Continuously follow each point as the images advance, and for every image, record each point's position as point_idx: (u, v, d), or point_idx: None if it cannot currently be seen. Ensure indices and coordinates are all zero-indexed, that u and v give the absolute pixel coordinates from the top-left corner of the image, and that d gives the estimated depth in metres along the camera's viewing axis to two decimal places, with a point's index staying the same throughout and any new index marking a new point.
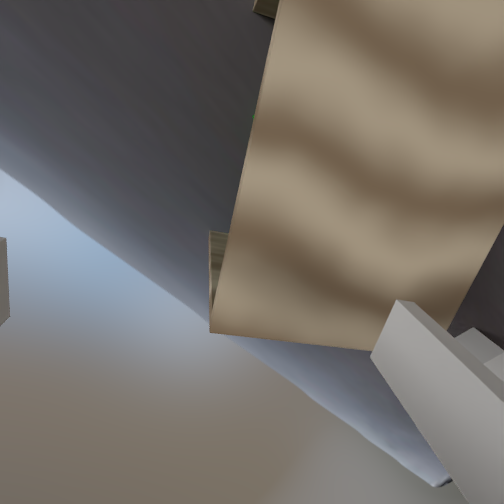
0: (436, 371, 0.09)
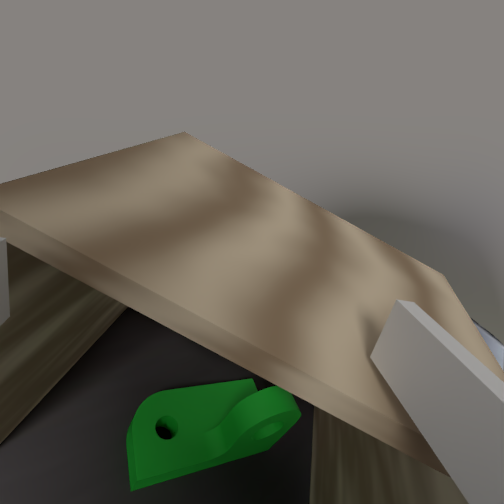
0: (436, 371, 0.09)
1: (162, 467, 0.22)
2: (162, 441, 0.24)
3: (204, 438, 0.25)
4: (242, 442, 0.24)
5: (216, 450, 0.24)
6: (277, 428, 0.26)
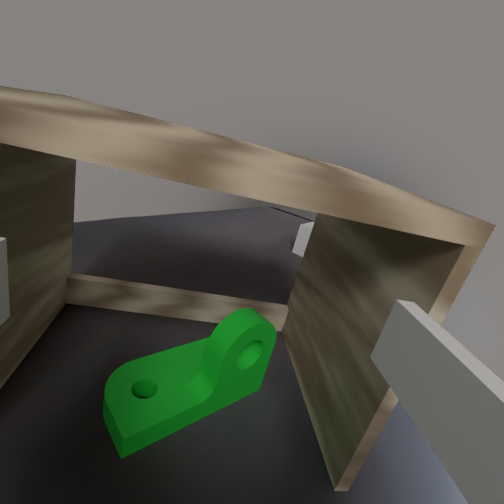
0: (436, 371, 0.09)
1: (149, 421, 0.20)
2: (142, 400, 0.22)
3: (188, 388, 0.24)
4: (227, 374, 0.23)
5: (203, 393, 0.23)
6: (258, 354, 0.25)
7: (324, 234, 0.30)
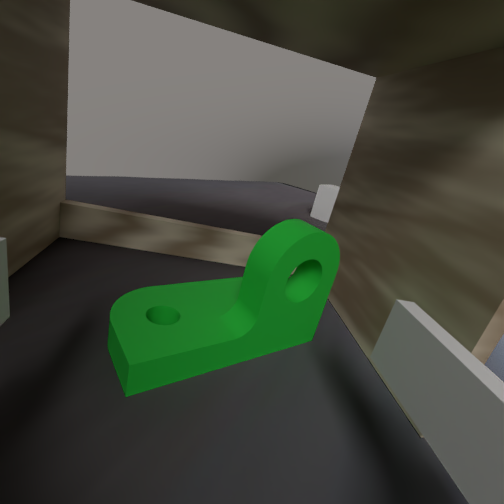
0: (436, 371, 0.09)
1: (167, 349, 0.14)
2: (160, 327, 0.16)
3: (221, 321, 0.17)
4: (274, 302, 0.17)
5: (241, 328, 0.17)
6: (315, 285, 0.19)
7: (373, 143, 0.24)
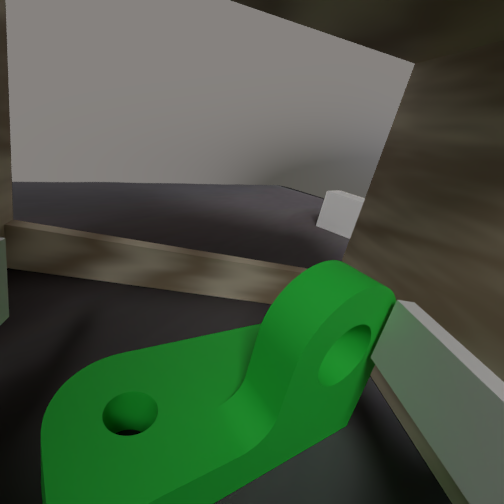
0: (437, 372, 0.09)
1: (127, 496, 0.09)
2: (122, 440, 0.10)
3: (220, 416, 0.12)
4: (302, 392, 0.11)
5: (252, 431, 0.11)
6: (358, 356, 0.13)
7: (413, 148, 0.19)
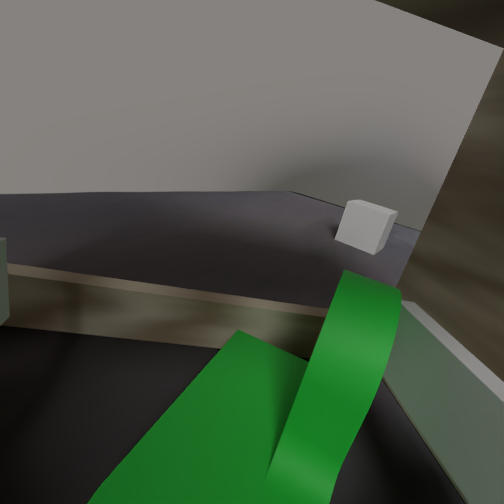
0: (436, 371, 0.09)
1: None
2: None
3: (276, 489, 0.10)
4: None
5: (317, 486, 0.10)
6: None
7: None
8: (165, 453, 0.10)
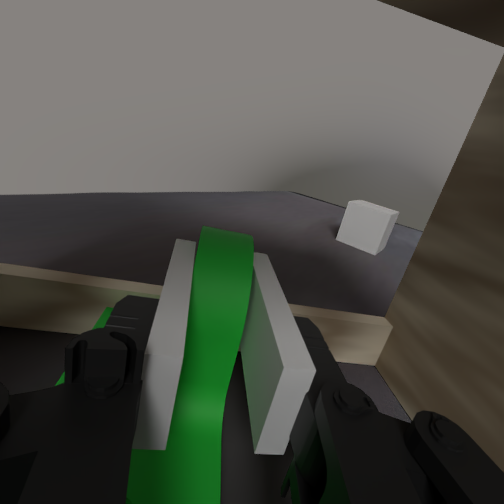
0: (253, 305, 0.10)
1: None
2: None
3: (175, 433, 0.11)
4: None
5: (210, 416, 0.11)
6: None
7: None
8: None
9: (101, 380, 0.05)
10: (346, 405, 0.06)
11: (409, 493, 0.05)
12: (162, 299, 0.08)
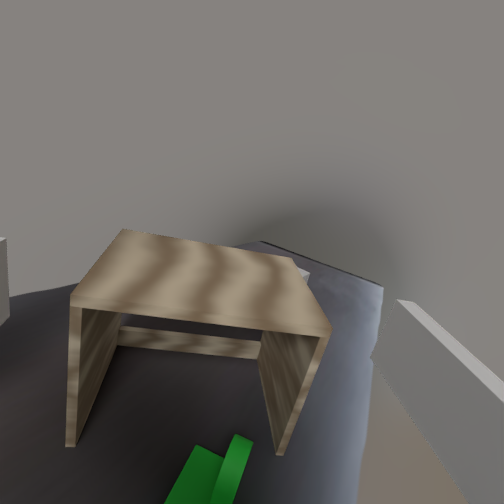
0: (436, 371, 0.09)
1: None
2: None
3: None
4: None
5: None
6: None
7: None
8: None
9: None
10: None
11: None
12: None
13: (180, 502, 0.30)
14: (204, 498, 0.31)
